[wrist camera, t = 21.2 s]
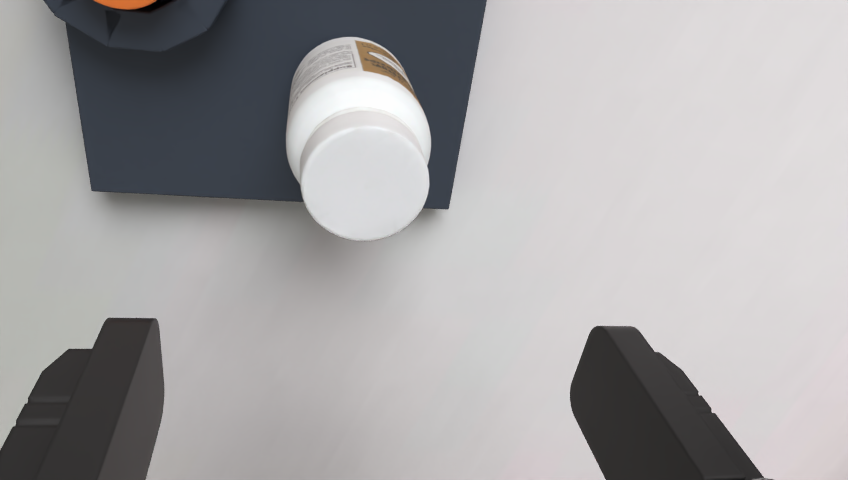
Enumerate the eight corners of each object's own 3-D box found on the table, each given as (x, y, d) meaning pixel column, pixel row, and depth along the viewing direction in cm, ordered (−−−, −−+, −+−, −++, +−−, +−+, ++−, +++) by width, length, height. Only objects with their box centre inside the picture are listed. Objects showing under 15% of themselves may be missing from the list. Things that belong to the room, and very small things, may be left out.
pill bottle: (429, 115, 23) (474, 210, 17) (331, 168, 24) (338, 281, 17) (373, 10, 21) (400, 74, 14) (266, 72, 21) (245, 160, 15)
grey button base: (86, 175, 24) (59, 211, 21) (29, -195, 18) (-18, -206, 15) (442, 195, 27) (456, 228, 24) (497, -116, 21) (522, -114, 18)
